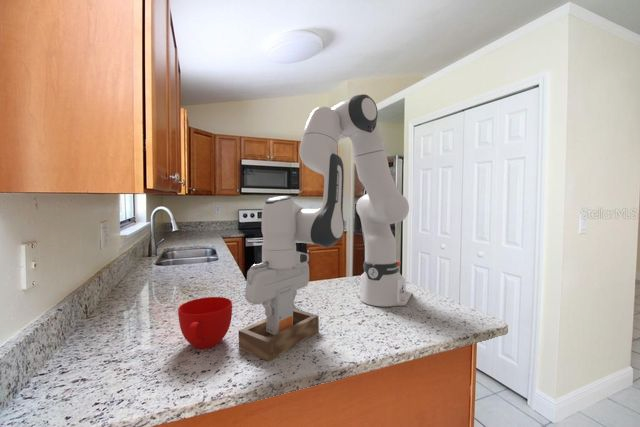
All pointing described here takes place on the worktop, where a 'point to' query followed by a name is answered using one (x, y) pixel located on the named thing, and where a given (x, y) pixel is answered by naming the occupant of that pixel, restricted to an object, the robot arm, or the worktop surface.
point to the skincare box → (281, 311)
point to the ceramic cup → (205, 321)
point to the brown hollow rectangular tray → (277, 336)
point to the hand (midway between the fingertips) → (280, 311)
